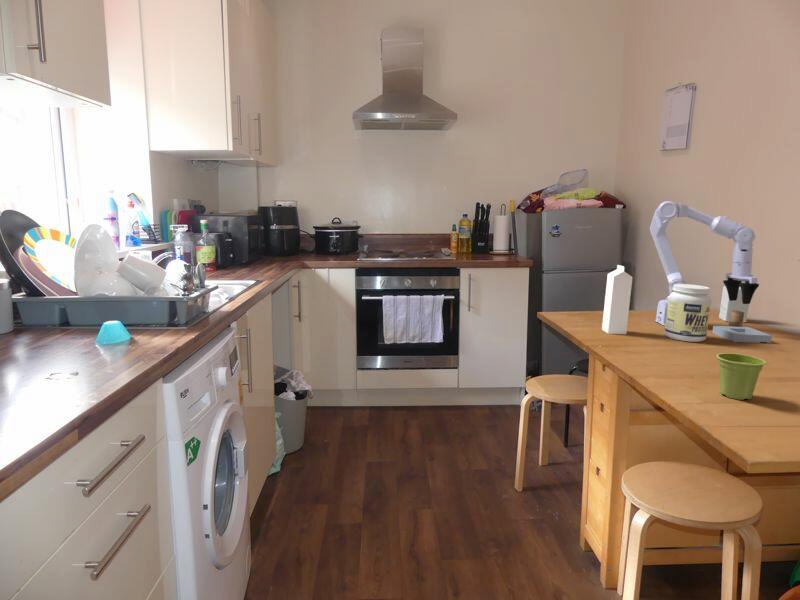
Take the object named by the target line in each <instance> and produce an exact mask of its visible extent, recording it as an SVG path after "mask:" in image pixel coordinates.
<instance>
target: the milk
mask: <svg viewBox="0 0 800 600" xmlns="http://www.w3.org/2000/svg"><path fill="white" fill-rule="evenodd" d="M606 277H607V278H606V286H605V295H604V306H603V307H604V308H603V316H602V323H601V330H602V331H603V332H605V333H607V334H608V335H609V334H611V335H627V331H628V329H627V328H628V322H629V321H628V320H629V313H630V304H631V294H632V293H631V292H632V287H633V286H632V285H633V276H632V275H630V274H629V273H627V272H626V271H625V266H623V265H620V264H617V265H616V269H615V270H613V271H610V272H609V273H607V276H606Z"/></svg>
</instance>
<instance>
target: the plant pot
mask: <svg viewBox="0 0 800 600" xmlns="http://www.w3.org/2000/svg"><path fill="white" fill-rule="evenodd" d="M716 358H717V359H718V360H717V361H718V365H719V390H720V394H721V395H724V396H726V397H727V398H730V399H734V400H740V401H743V400H745V399H746V400H752V398H753V395H754V391H755V388H756V385H757V383H758V380H759V375H760V373H761V371H762V370H763V367H764V366H765V365H766V364H767V362H766V361H765V359H762V358H759V357H756V356H752V355H748V354H741V353H734V352H732V353H731V352H728V353H727V352H722V353H718V354H716Z"/></svg>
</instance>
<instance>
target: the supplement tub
mask: <svg viewBox="0 0 800 600" xmlns="http://www.w3.org/2000/svg"><path fill="white" fill-rule="evenodd" d="M710 289H711V288H710V287H708V286H704V285H697V284H689V283H686V284H674V286H673V289H672V290H673V291H674V292H673V293H671V294H670V293H669V295H668V296H669V301H668V309H667V317H666V324H665V326H664V331H663V332H664V335H665V336H666V337H668V338H669V339H672V340H676V341H682V342H688V343H689V342H690V343H691V342H692V343H699V342H703V341H705V340H706V339H707V335H708V334H707V333H708V326H709V319H710V310H711V306H712V299H711V297H710V296H709V294H710V293H711V291H710Z"/></svg>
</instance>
